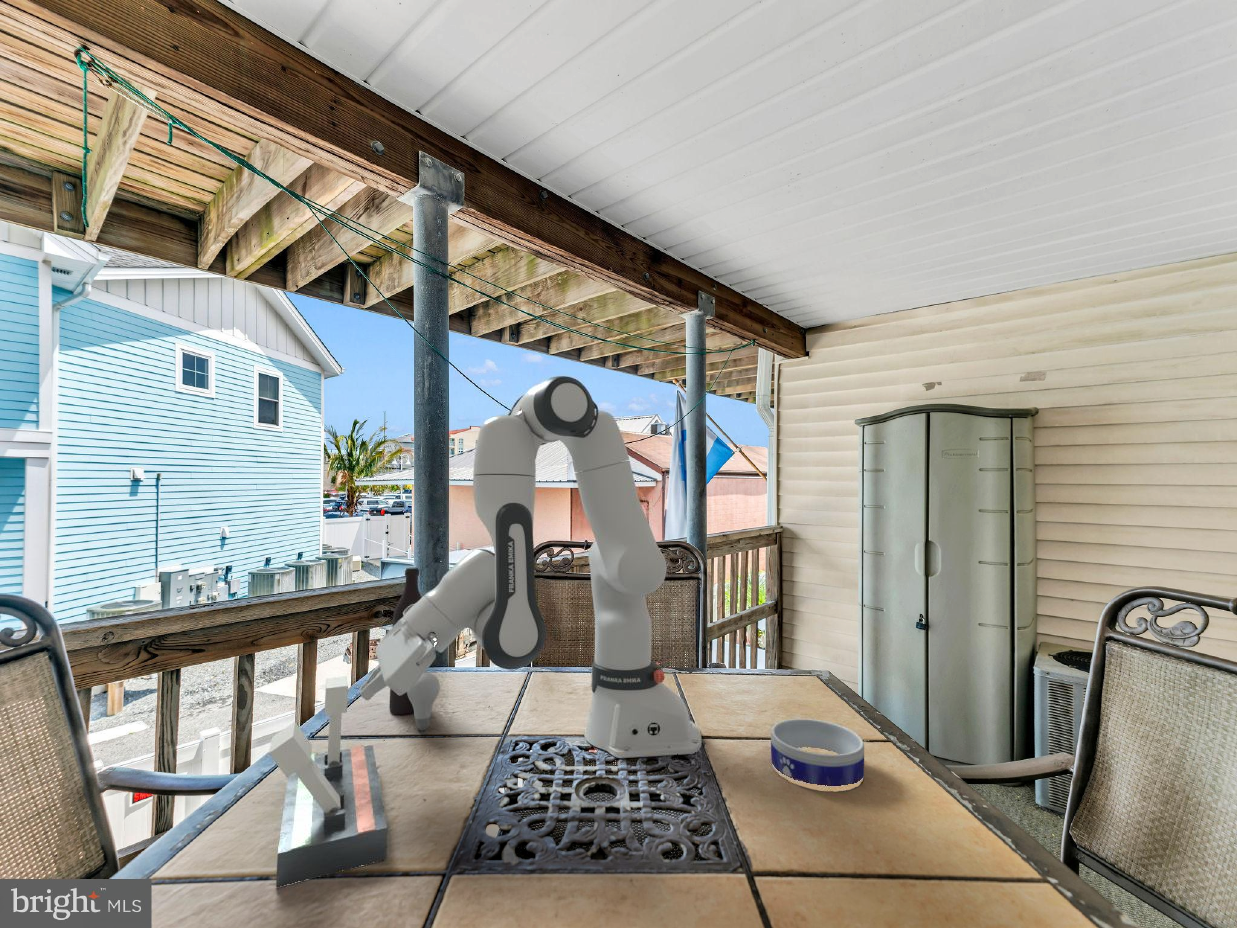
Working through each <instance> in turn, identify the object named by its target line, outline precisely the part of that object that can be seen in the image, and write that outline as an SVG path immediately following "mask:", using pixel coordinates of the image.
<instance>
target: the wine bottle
mask: <svg viewBox="0 0 1237 928" xmlns="http://www.w3.org/2000/svg"><path fill="white" fill-rule="evenodd" d="M404 576H405V586H404V590H403V592H402V594H401V597H400V598H399V600H398V602H397V603H396V606H395V608H394V611H393V615H392V616H393V617H392V627H393V626H394V625H395V624H396V623H397V622H398V621H399V620H400V619H401V618H403V616H404V615H403V612H404V611H405V610H406V609H407V608H408V607H409V606H410V605H412V604H415V603H417V602H418V601H419V600H420V599H421V598H422V597H423V596H422V594H421V593H420V591H419V590H420V589H419V576H420V569H419V567H415V566H414V567H406V568H405V570H404ZM425 672H427V670H426V671H425ZM388 705H389V706H388V707H389V712H390V713H391V714H393V715H396V716H397V715H398V716H408V714H409V715H414V714H413V713H414V708H413V705H412V703H411V702H410V700H409V697H408V694H407V692H406V693H404V694H403V695H398V694H397V693H395V692H394V691H393V690H392V689H391V688H389V704H388Z"/></svg>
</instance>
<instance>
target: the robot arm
mask: <svg viewBox="0 0 1237 928" xmlns="http://www.w3.org/2000/svg"><path fill="white" fill-rule="evenodd" d="M619 427H620V426H619V425H618V423H617V421H616V419H615V417H614V416H613V415H612V413H609V412H607V411H604V410H601V409H600V410H599V408H598V405H597V404H596V402H595V401H594V400H593V398H592V396H591V394H590V392H589V390H588V389H587V388H586V386H585V385H584V384H583V383H582V382H580V381H579V379H576V378H574V377H571V376H566V375H563V376H562V375H559V376H558V375H557V376H553V377H549V378H547V379H545V380H544V381H542V382H539V383H537V384H535V385H534V386H532V387H530V388H529V390H527V392H526V393H524V394H523V395H521V397H519V398H518V399H517V400H516V401H515V402H514V404H513V405H512V407H511V408H510V410H509V412H508V414H501V415H496V416H492V417H491V418H488V419H487V420H485V421H484V422H483V423H482V425H481V427H480V429H479V433H478V437H477V442H476V447H475V453H474V461H473V472H472V474H473V477H472V489H473V490H472V491H473V493H472V494H473V501H474V507H475V512H476V515H477V518H479V520H480V521H481V522H482V524H483V526H485V528H486V530H487V532H488V534H489V537H490V538H491V542H492V546H493V550H494V551H491V550H489V549H485V548H478V549H474V550H472V551H471V552H469V553H468V554H467V555H465V556H464V557H463V558H461V559H460V560H459V561H458V562H457V563H455V565H454V566H452V567H451V569H449V570H448V571H447V572H446V573H445V574H444V575H443V577H442V578H441V579H440V582H438V584H437V586H435V587H434V588H433V589H431V590H429V591H428V592H426V593H425V594H424V595H423V596H421V597H422V598H421V599H420V600H419V601H418V602H417V603H415V604H412V605H410V606H409V607H408V608H407V609H406V610H405V611H404V612H403V615H404V616H403V618H401V619H400V620H399V621H398V622H397V623H396V624H395V625H394V626H393V625H392V628H391V629H389V631H388V632H387V633H386V634H385V635H384V637H383V638H382V639H381V640H380V641H379V642H378V644H377V646H376V647H375V650H374V652H375V654H376V658H377V661H378V665H377V666H376V667H375V668H374V669H373V670H372V671H371V673H370V675H369V676H368V678H367V679H366V680H365V682H363V684H361V685H360V687H359V692H360V693H359V694H360V696H361V698H362V699H364V700H365V701H369V700H371V699H372V698H373V697H374V696H375V695H376V694H377V693H378V692H380V691H382V690H383V689H385V688H386V687H388V688H389V689H390V688H391V689H392V690H393V691H394V692H395V693H397V694H398V695H403V694H404V693H406V692H407V691H408V690H409V689H410V688H411V687H412V686H413V685H414V684H415V683H416V682H417V680H418V679H419V678H420V677H421V676H422V675H423V673H424V672H425V671H426V672H427V670H428V669H429V667H430V666H431V665H432V664H433V662H434V661H435V659H436V655H437V654H436V652H438V653H443V652H444V651H445V650H446V649H447V648H448V646H450V645H451V644H452V643H453V642H454V640H456V638H457V637H458V636H459V635H460V634H461V633H462V632H463V631H464V630H465V629H470V631H471V633H472V635H473V637H474V639H475V641H476V642H477V643H478V645H479V646H480V647H481V649H483V650H484V652H485V655H486V656H487V658H488V659H489V661H490V662H491V663H492V664H494V665H495V666H496V667H498V668H500V669H503V670H509V671H510V670H512V671H513V670H518V669H521V668H524V667H526V666H528V665H530V664H531V663H533V662H534V661H535V660H536V659H537V658H538V657H539V655H540V654H541V653H542V651H543V649H544V647H545V644H546V639H547V628H546V627H547V626H546V624H545V623H546V622H545V620H544V618H543V616H542V612H541V611H540V609H539V605H538V602H537V597H536V581H535V579H536V577H535V553H534V552H535V551H534V549H535V548H534V546H535V545H534V519H535V518H534V512H535V503H536V501H535V500H536V480H537V479H536V477H537V475H536V474H537V473H536V471H537V469H536V466H537V465H536V459H537V455H538V451H539V449H540V447H541V446H544V445H546V444H551V443H555V442H558V441H560V442H561V443H562V444H563V445H564V446H565V448H566V449H567V451H568V453H569V455H570V457H571V460H572V466H573V472H574V475H575V479H576V484H577V488H578V491H579V492H578V493H579V497H580V501H581V507H582V510H583V512H584V515H585V517H586V519H587V521H588V523H589V526H590V529H591V531H592V534H593V536H594V541H593V543H592V544H591V546H590V548H589V551H588V563H589V568H590V569H589V570H590V582H591V583H590V584H591V585H590V586H591V594H592V603H593V610H594V611H593V613H594V659H593V660H592V664H591V672H590V673H591V674H590V677H591V678H590V680H591V681H590V687H591V691H592V697H591V703H590V711H589V715H588V720H587V724H586V728H585V730H584V735H583V736H584V739H585V740H586V741H587V742H588V743H589V744H590V745H591V746H593V747H596V748H598V749H600V750H603V751H606V752H608V753H609V754H610V755H611V756H613V757H615V758H617V759H624V758H625V759H626V758H641V757H642V758H643V757H645V758H646V757H659V756H660V757H661V756H674V755H677V754H678V755H689V754H690V755H692V754H696V753H698V752H699V751H700V750H701V747H702V744H703V742H702V734H701V733H702V732H701V731H700V729H699V727H698V726H697V724H696V723H694V722H693V721H692V720H691V719H690V714H689V711H688V707H687V705H686V703H685V701H684V700H683V699H682V697H681V696H680V695H679V694H677V693H675V691H673V690H672V689H671V688H670V687H668V686H667V685H665V683H663V682H664V681H665V678H666V677H665V672H664V671H663V670H662V667H661V666H660V664H659V663H658V661H656V662H654V661H653V660H652V619H651V616H650V613H649V609H648V605H647V600H646V596H647V595H650V594H652V593H654V592H656V591H657V590H658V589H659V588H660V587H661V586H662V584H663V583H664V581H665V579H666V576H667V571H668V570H667V569H668V567H667V560H666V559H665V555H664V554H663V553H662V551H661V550H660V549H661V548H659V546H658V544H657V541H656V539H655V536H654V533H653V531H652V529H651V526H650V523H649V521H648V519H647V516H646V514H645V512H644V509H643V507H642V503H641V501H640V498H639V494H638V490H637V486H636V482H635V478H634V474H633V470H632V469H633V468H632V465H631V461H630V456H629V453H628V449H627V446H626V443H625V440H624V438H623V435H622V432H621V430H620V428H619ZM695 752H696V753H695Z"/></svg>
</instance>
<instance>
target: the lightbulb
mask: <svg viewBox="0 0 1237 928" xmlns="http://www.w3.org/2000/svg"><path fill="white" fill-rule="evenodd" d="M440 690H441V684H440V681H439V679H438V677H437V675H435V674H433V673H431V672H427V671H426V672H424V673H423V675H422V676H421V677H420V678H419V679H418V680H417V682H416V683H415V684H414V685H413V686H412V687H411V688H410V689H409V690H408V691H407V694H408V697H409V700H410V702H411V703H412V705H413V708H414V714H413V716H414V719H415V724H414V725H415V729H417V730H419V731H425V729H427V728H428V727H430V719H431V715H432V709H433V705H434V703H435V702H436V700H437V697H438V695H440V694H439V693H440Z"/></svg>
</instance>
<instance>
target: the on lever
mask: <svg viewBox="0 0 1237 928" xmlns="http://www.w3.org/2000/svg"><path fill="white" fill-rule="evenodd" d="M312 751H313V744H312V743H311V742H310V740H309V739H308V738H307V736H306V735H305V733H304V732H303V730H302V729H301V728H300V726H299V725H298V724H297V722H296V721H294V722H293V723H291V724H290V725H288V726H286V727H285V728H283V729H282V730H281V731H279V732H278V733H276V734H275V735H274V736H272V737H271V741H270V745H269V750H268V755H269V756H270V758H271V759H272V760H273V761H274V763H275V764H276V765H277V767H278V768H279V769H280V771H281V772H282V773H283V774H284V776H285V778H286V779H288V777H289V776H291V775H292V774H294V773H295V774H296V775H297V776H298V778H299V779H300V780H301V782H302V783H303V784H304V786H305V787H306V788H307V790H308V791H309V792H310V794H311V795H312V796H313V798H314V799H315V800H316V802H317V803H318V804H319V806H320V807H321V808H322V810H323V811H324V812H325V813H329V812H334V811H338V810H340V796H339V795H338V794H337V792H336V791H335V790H334V788H333V787H332V785H331V784H330V783H329V781H328V780H327V779H326V777H325V776H324V775H323V773H322V772H321V771H320V769H319V768H318V766H317V765H316V764H315V762H314V761H313V760H312V758H311V754H313V752H312Z"/></svg>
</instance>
